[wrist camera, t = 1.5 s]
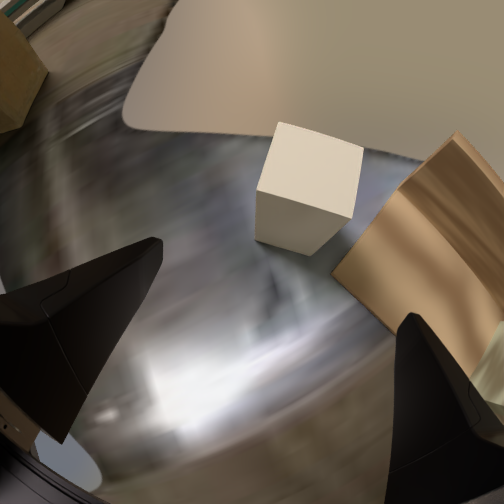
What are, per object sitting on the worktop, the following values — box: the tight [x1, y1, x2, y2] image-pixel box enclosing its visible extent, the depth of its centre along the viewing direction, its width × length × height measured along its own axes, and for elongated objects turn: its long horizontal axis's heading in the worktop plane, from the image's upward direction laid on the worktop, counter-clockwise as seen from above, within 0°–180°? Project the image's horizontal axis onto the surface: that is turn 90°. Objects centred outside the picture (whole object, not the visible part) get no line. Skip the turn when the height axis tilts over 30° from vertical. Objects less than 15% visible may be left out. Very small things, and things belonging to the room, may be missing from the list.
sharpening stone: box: [0, 0, 65, 38], centre depth 26 cm, size 25×8×11 cm, turn 140°
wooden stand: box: [331, 130, 504, 425], centre depth 15 cm, size 11×24×13 cm, turn 47°
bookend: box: [255, 122, 364, 256], centre depth 18 cm, size 4×4×10 cm
